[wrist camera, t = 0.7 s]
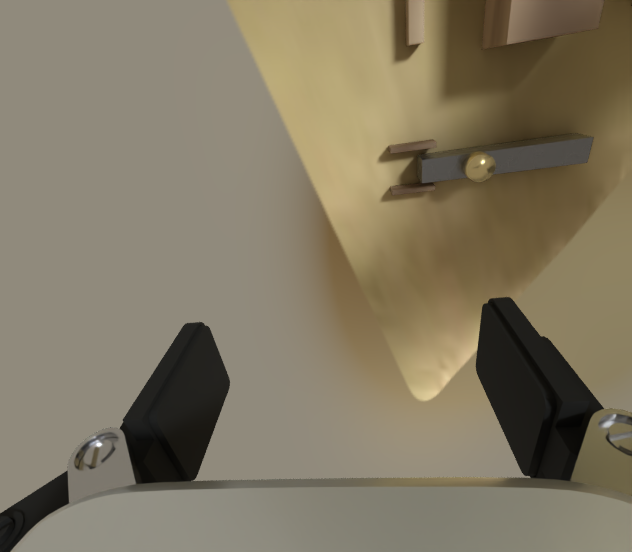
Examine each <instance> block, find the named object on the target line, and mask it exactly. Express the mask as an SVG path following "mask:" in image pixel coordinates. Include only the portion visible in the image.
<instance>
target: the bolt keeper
mask: <svg viewBox="0 0 632 552" xmlns="http://www.w3.org/2000/svg"><path fill="white" fill-rule="evenodd" d="M435 147H436V141H434V140H426V141H418V142H411V143H404V144H397V145H390V146H389V152H390V153H399V152H406V151H413V150H420V149H428V148H435ZM432 190H435V185H434V183H433V182H429V183H416V184H408V185H400V186H392V187H390V191H391V194H392V195H399V194H407V193H415V192H423V191H432Z"/></svg>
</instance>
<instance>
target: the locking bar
mask: <svg viewBox="0 0 632 552" xmlns="http://www.w3.org/2000/svg"><path fill="white" fill-rule="evenodd" d="M592 141H593V137H591V136H587V135H583V134H578V133H575V134H567V135H560V136H553V137H545V138H538V139H531V140H523V141H516V142H509V143H501V144H494V145H487V146H479V147H472V148H465V149H457V150H450V151H443V152H435V153H428V154H421V155H417V177H418V179H419V180H420V181H421V183H429V182H437V181H445V180H453V179H461V178H469V179H471V180H472V181H474V182H483V181H485V180H487V179H489V178H490V177H491V176H492V175H493V174H501V173H509V172H517V171H525V170H533V169H541V168H549V167H557V166H565V165H573V164H581V163H587V162H588V158H589V154H590V150H591V145H592Z"/></svg>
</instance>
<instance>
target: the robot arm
mask: <svg viewBox="0 0 632 552" xmlns="http://www.w3.org/2000/svg"><path fill="white" fill-rule="evenodd" d="M476 371H477V374H478V377H479V379H480V381H481V384H482V385H483V388H484V390H485V392H486V395H487V397H488V399H489V401H490V403H491V406H492V408H493V410H494V412H495V414H496V416H497V419H498V421H499V423H500V425H501V428H502V430H503V432H504V434H505V436H506V439H507V441H508V443H509V445H510V447H511V450H512V452H513V454H514V456H515V458H516V461H517V463H518V465H519V467H520V469H521V471H522V473H523V474H524V475H525V476H530V477H531V478H492V477H437V478H436V477H435V478H347V479H346V478H341V479H272V480H222V481H193V480H194V479H195V478H196V476H197V474H198V472H199V469H200V466H201V463H202V461H203V458H204V455H205V453H206V450H207V447H208V444H209V442H210V439H211V436H212V434H213V431H214V428H215V425H216V422H217V420H218V417H219V415H220V412H221V409H222V406H223V403H224V401H225V398H226V396H227V393H228V390H229V386H230V380H229V377H228V374H227V371H226V369H225V366H224V364H223V361H222V359H221V356H220V354H219V351H218V348H217V346H216V343H215V341H214V338H213V336H212V333H211V330H210V328H209V327H208V326H205V325H204V323H202V322H199V323H198V322H197V323H187V324H185V325H184V326H183V327H182V329H181V331H180V332H179V334H178V335H177V337H176V338H175V340H174V341H173V343H172V344H171V346H170V348H169V349H168V351H167V352H166V354H165V355H164V357H163V358H162V360H161V361H160V363H159V365H158V366H157V368H156V369H155V371H154V373H153V374H152V375H151V377H150V379H149V380H148V382H147V383H146V385H145V386H144V388H143V389H142V391H141V393H140V394H139V396H138V397H137V399H136V400H135V402H134V403H133V405H132V406H131V408H130V409H129V411H128V413H127V414H126V416H125V417H124V419H123V424H122V426H121V427H120V429H118V428H111V427H110V428H106V429H102V430H100V431H98V432H96V433H94V434H92V435H91V436H89V437H88V438H86V439H85V440H84V441H83V442H82V443H81V444H80V445H79V446H78V447H77V448H76V449H75V451H74V452H73V453H72V455H71V457H70V459H69V462H68V467H67V468H68V471H66V472H65V473H63V474H62V475H60V476H58V477H57V478H55V479H54V480H52V481H50V482H49V483H47V484H46V485H44V486H43V487H41V488H39V489H38V490H36V491H35V492H33V493H32V494H30V495H29V496H27V497H25V498H24V499H22V500H21V501H19V502H18V503H16V504H14V505H13V506H11V507H10V508H8V509H7V510H5V511H4V512H2V513H0V552H632V413H631V412H628V411H625V410H619V409H612V408H610V409H604V408H603V407H602V405H601V404H600V403H599V402H598V400H597V399H596V398H595V397H594V395H593V394H592V393H591V392H590V390H589V389H588V388H587V386H586V385H585V384H584V383H583V381H582V380H581V379H580V378H579V377H578V375H577V374H576V373H575V371H574V370H573V369H572V368H571V366H570V365H569V364H568V362H567V361H566V360H565V359H564V357H563V356H562V355H561V354H560V352H559V351H558V350H557V349H556V347H555V346H554V345H553V344H552V342H551V341H550V340H549V339H548V338H546V337H544V336H543V337H541V336H540V335H539V334H538V332H537V331H536V330H535V328H534V327H533V326H532V325H531V323H530V322H529V321H528V319H527V318H526V317H525V315H524V314H523V313H522V312H521V310H520V309H519V308H518V307H517V305H516V304H515V302H514V301H513V300H512V299H511V298H510V297H504V298H492V299H489V301H488V303H486V304H483V307H482V315H481V323H480V332H479V341H478V350H477V359H476Z"/></svg>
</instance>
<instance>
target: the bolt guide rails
mask: <svg viewBox="0 0 632 552" xmlns="http://www.w3.org/2000/svg"><path fill="white" fill-rule="evenodd" d="M631 6H632V5H631ZM423 42H424V0H406V46H411V45H416V44H421V43H423Z"/></svg>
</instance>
